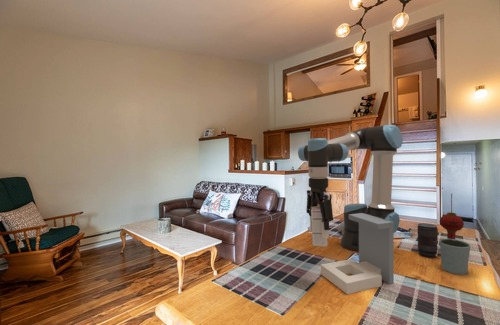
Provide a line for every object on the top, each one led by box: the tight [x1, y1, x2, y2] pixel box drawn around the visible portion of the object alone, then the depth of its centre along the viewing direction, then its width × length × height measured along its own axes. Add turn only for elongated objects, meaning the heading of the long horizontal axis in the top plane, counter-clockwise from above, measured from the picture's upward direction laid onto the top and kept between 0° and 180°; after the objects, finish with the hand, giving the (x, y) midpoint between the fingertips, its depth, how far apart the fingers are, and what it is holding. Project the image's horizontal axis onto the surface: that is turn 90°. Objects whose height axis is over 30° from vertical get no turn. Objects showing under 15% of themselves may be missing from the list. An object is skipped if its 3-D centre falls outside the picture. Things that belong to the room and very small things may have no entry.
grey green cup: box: [438, 238, 471, 276], centre depth 103 cm, size 10×10×12 cm
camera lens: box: [416, 222, 439, 259], centre depth 119 cm, size 8×8×15 cm
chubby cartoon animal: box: [337, 220, 344, 236], centre depth 153 cm, size 7×12×8 cm, turn 12°
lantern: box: [439, 193, 464, 240], centre depth 121 cm, size 10×10×30 cm
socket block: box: [320, 213, 395, 295], centre depth 98 cm, size 16×22×24 cm
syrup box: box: [311, 205, 328, 247], centre depth 96 cm, size 6×6×14 cm
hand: (319, 234), depth 97 cm, fingers closed on syrup box, 7 cm apart
